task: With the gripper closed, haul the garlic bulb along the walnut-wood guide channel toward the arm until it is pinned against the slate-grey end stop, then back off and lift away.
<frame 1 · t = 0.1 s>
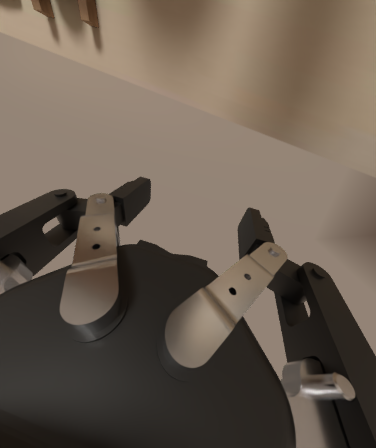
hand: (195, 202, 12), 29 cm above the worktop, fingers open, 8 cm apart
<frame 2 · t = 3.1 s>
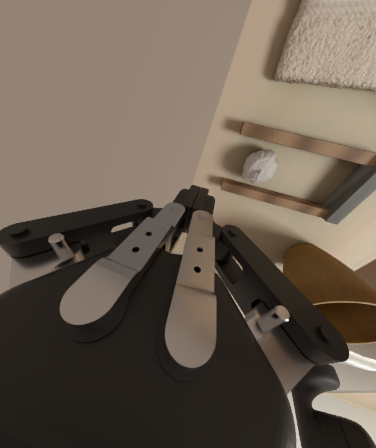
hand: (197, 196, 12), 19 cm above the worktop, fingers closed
guide track: (289, 172, 26), on the worktop
washcloth: (374, 20, 16), on the worktop
garlic: (257, 163, 27), on the worktop
plant pot: (302, 253, 36), on the worktop
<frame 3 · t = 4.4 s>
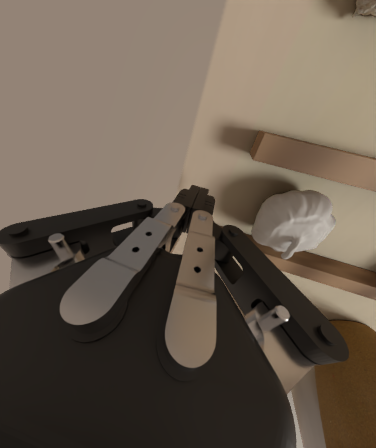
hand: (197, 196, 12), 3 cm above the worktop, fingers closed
guide track: (345, 227, 13), on the worktop
garlic: (280, 208, 14), on the worktop
plant pot: (341, 328, 23), on the worktop
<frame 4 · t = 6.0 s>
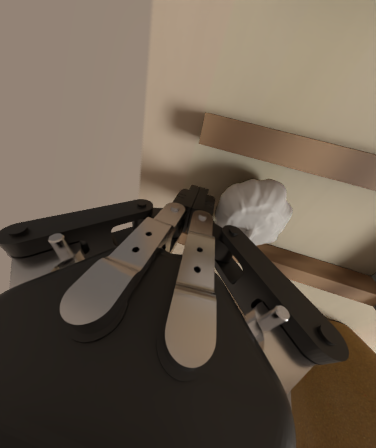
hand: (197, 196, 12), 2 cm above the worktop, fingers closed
guide track: (310, 220, 13), on the worktop
garlic: (246, 200, 13), on the worktop, touching gripper
plant pot: (320, 327, 23), on the worktop
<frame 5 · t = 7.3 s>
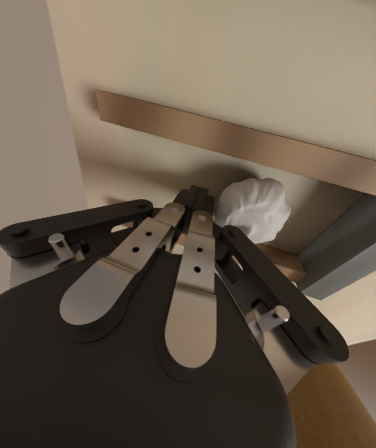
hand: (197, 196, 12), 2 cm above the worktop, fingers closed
guide track: (231, 199, 13), on the worktop
garlic: (245, 199, 13), on the worktop, touching gripper
plant pot: (274, 312, 23), on the worktop
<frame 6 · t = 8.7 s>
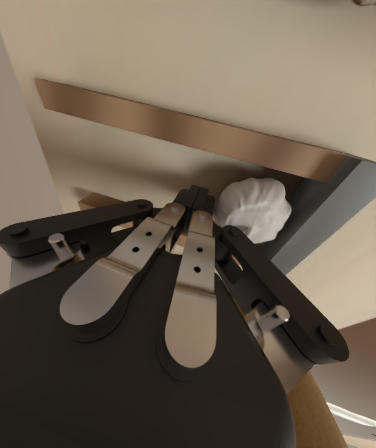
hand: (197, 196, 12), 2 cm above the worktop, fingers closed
guide track: (186, 187, 14), on the worktop
garlic: (245, 199, 13), on the worktop, touching gripper
plant pot: (248, 303, 24), on the worktop
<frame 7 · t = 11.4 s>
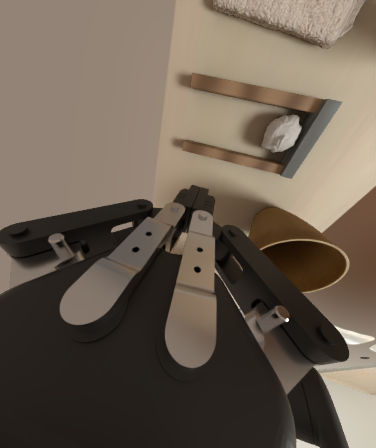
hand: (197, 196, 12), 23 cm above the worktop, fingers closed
guide track: (245, 129, 27), on the worktop
garlic: (276, 133, 26), on the worktop
plant pot: (270, 218, 37), on the worktop
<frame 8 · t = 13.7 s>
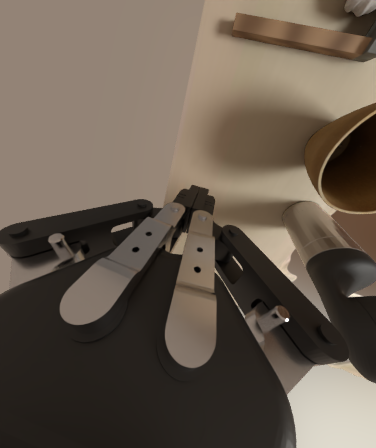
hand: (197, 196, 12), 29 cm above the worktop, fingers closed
plant pot: (326, 144, 30), on the worktop
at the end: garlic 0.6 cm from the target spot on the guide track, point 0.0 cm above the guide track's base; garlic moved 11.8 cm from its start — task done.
